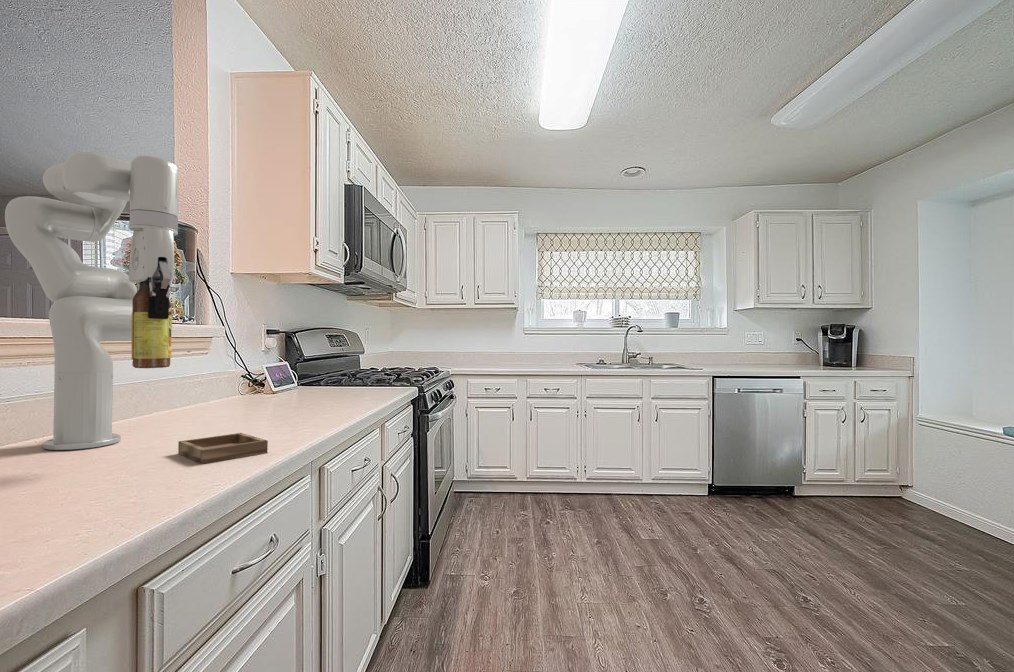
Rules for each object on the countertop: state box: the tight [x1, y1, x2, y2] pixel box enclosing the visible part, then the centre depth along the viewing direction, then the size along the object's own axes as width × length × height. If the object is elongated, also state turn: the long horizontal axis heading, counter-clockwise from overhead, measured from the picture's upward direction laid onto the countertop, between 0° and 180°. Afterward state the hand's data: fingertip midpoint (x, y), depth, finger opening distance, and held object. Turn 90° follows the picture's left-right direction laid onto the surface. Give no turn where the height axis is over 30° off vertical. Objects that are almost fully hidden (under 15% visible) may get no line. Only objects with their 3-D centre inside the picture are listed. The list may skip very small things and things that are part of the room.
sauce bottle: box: [131, 268, 173, 369], centre depth 94 cm, size 7×6×20 cm
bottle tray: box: [177, 432, 268, 465], centre depth 99 cm, size 12×12×2 cm
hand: (152, 317), depth 94 cm, fingers closed on sauce bottle, 6 cm apart
